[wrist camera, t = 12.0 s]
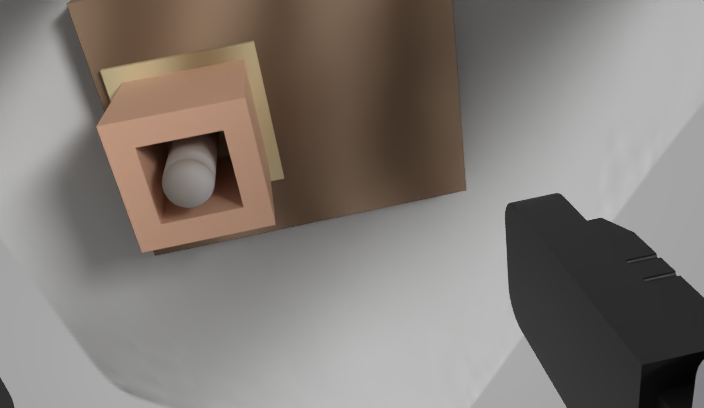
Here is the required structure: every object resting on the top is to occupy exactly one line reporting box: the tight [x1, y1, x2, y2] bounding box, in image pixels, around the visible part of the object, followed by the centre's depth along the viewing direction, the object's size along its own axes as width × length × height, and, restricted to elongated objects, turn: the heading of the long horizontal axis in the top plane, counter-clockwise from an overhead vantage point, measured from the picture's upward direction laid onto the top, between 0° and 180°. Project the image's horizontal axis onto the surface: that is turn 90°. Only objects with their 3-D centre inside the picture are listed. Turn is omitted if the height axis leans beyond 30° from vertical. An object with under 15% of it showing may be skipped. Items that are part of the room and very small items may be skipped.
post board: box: [67, 0, 466, 256], centre depth 28 cm, size 17×13×9 cm
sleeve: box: [96, 59, 276, 253], centre depth 28 cm, size 6×6×6 cm
